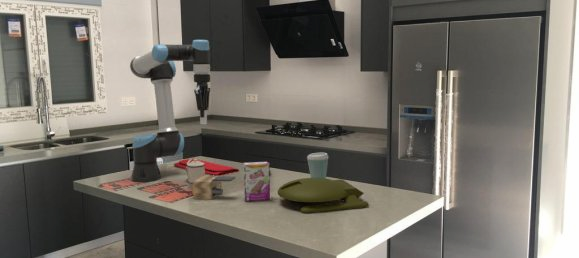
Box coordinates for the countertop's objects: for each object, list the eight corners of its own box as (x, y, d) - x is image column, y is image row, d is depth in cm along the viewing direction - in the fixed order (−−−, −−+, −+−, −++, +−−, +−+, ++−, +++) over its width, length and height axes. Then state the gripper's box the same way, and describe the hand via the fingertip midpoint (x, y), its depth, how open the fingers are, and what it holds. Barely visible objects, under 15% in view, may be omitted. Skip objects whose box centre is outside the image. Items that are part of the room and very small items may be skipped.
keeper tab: (211, 181, 215) (211, 179, 215) (217, 178, 221) (216, 176, 221) (230, 181, 213) (230, 179, 213) (235, 178, 218) (235, 176, 218)
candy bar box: (245, 202, 210) (244, 164, 208) (243, 199, 215) (242, 162, 213) (270, 200, 212) (269, 163, 210) (268, 197, 217) (267, 161, 215)
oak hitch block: (194, 198, 217) (193, 181, 216) (205, 191, 229) (205, 175, 228) (210, 199, 215) (210, 182, 214) (221, 192, 227) (220, 175, 226)
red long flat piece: (217, 177, 260) (216, 170, 259) (173, 167, 288) (173, 161, 287) (239, 172, 271) (239, 165, 271) (195, 163, 299) (194, 157, 299)
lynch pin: (192, 197, 219) (191, 186, 218) (197, 194, 224) (196, 183, 223) (219, 199, 216) (219, 187, 215) (224, 195, 221) (223, 184, 220)
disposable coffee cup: (315, 187, 233) (315, 156, 231) (303, 183, 242) (302, 153, 240) (333, 184, 239) (333, 154, 237) (320, 180, 248) (319, 150, 246)
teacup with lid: (209, 180, 251) (208, 158, 249) (196, 184, 244) (195, 161, 242) (193, 177, 258) (192, 156, 257) (179, 181, 251) (178, 159, 249)
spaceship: (344, 190, 228) (344, 169, 227) (370, 208, 199) (370, 185, 198) (271, 196, 220) (270, 175, 219) (287, 216, 190) (287, 192, 189)
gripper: (203, 74, 219) (205, 126, 222) (215, 73, 231) (216, 122, 235) (188, 74, 221) (190, 125, 224) (200, 73, 233) (202, 122, 236)
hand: (203, 124), depth 229 cm, fingers closed
